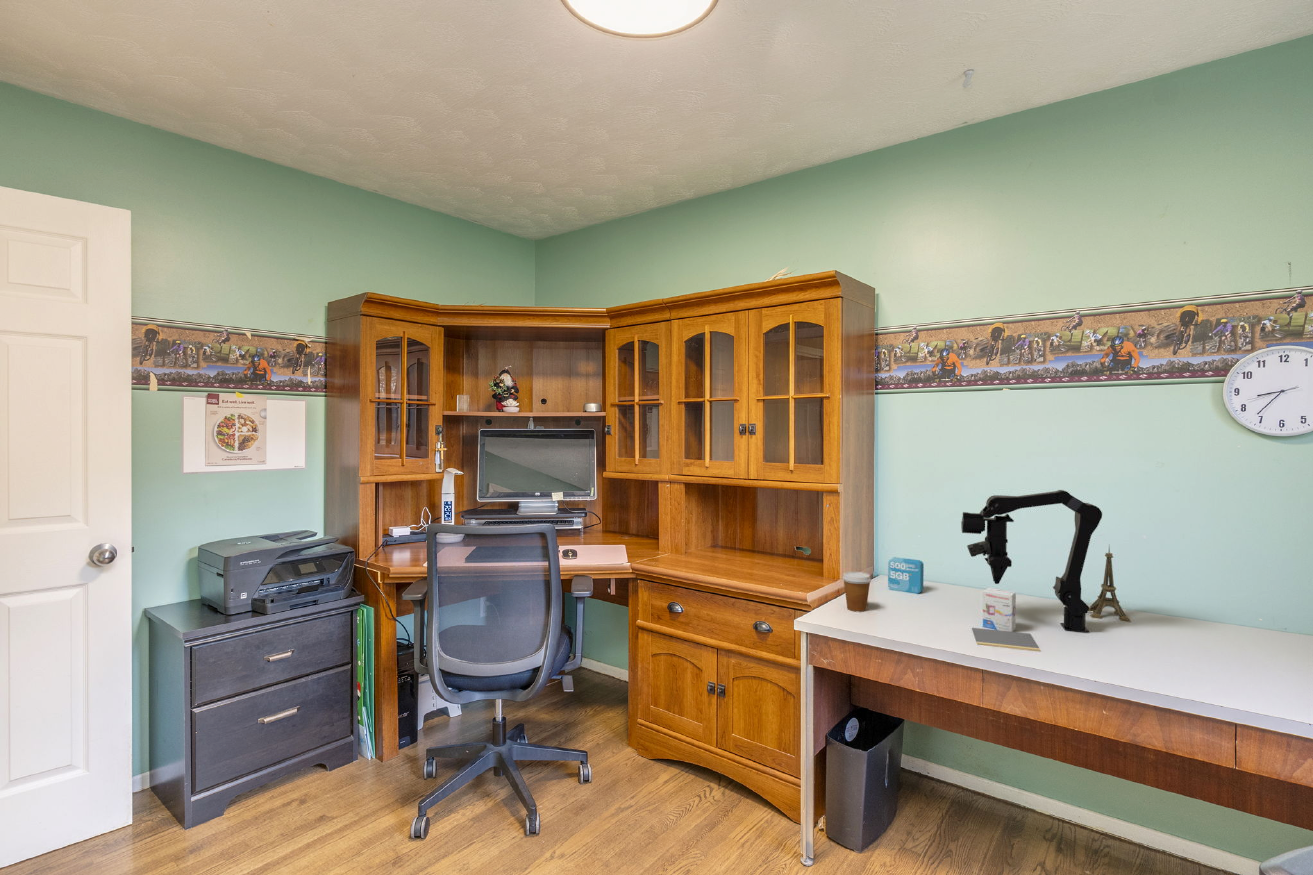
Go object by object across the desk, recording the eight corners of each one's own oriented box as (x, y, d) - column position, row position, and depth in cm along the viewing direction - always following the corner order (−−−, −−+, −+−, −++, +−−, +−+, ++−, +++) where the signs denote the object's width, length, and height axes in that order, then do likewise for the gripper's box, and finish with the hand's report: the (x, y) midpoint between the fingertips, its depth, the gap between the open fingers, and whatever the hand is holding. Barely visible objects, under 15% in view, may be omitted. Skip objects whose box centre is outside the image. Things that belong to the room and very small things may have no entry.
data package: (887, 589, 248) (888, 558, 248) (891, 587, 252) (891, 556, 251) (920, 594, 241) (920, 562, 241) (923, 591, 245) (923, 560, 244)
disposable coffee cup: (851, 614, 216) (851, 578, 216) (837, 606, 226) (837, 572, 225) (876, 612, 219) (877, 577, 218) (861, 604, 228) (861, 570, 227)
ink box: (981, 627, 202) (982, 589, 202) (986, 623, 206) (986, 586, 206) (1011, 633, 197) (1012, 594, 197) (1015, 629, 201) (1016, 591, 200)
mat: (971, 628, 201) (971, 627, 201) (1030, 634, 195) (1030, 633, 195) (977, 644, 187) (977, 642, 187) (1040, 651, 181) (1040, 649, 181)
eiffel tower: (1086, 609, 222) (1087, 537, 221) (1123, 613, 217) (1125, 539, 217) (1091, 617, 212) (1093, 542, 212) (1130, 622, 208) (1132, 545, 207)
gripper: (966, 528, 220) (965, 574, 220) (972, 538, 202) (971, 587, 203) (1003, 530, 216) (1002, 577, 216) (1012, 540, 198) (1011, 590, 199)
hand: (996, 582), depth 208 cm, fingers open, 3 cm apart
